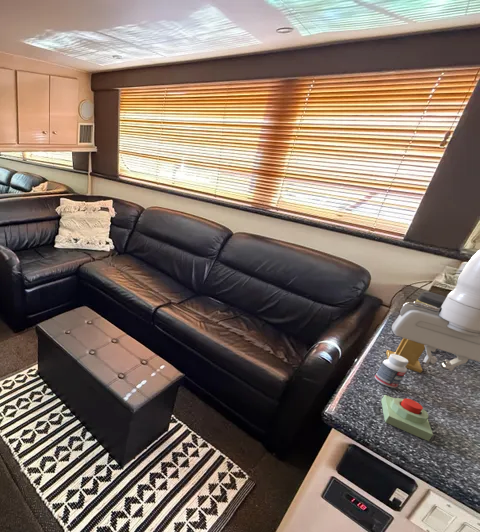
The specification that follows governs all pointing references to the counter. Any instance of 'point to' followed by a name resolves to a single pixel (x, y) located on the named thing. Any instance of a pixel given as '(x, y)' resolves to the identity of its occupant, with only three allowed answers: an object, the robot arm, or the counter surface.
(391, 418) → the button box
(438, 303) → the coffee jar
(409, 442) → the counter surface
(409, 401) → the button
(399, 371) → the pill bottle
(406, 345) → the bracket
